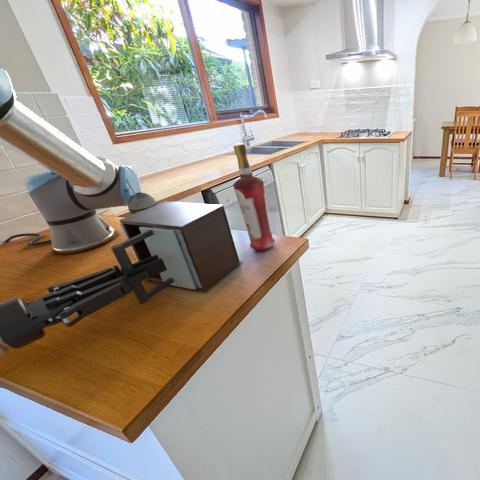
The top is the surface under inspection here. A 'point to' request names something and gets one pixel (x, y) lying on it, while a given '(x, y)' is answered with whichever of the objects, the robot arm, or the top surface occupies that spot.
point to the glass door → (165, 248)
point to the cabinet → (190, 238)
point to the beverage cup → (139, 201)
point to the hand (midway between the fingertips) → (161, 262)
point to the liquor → (252, 202)
